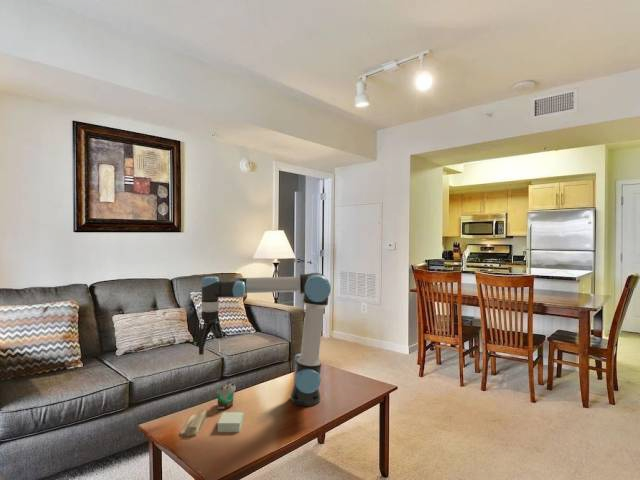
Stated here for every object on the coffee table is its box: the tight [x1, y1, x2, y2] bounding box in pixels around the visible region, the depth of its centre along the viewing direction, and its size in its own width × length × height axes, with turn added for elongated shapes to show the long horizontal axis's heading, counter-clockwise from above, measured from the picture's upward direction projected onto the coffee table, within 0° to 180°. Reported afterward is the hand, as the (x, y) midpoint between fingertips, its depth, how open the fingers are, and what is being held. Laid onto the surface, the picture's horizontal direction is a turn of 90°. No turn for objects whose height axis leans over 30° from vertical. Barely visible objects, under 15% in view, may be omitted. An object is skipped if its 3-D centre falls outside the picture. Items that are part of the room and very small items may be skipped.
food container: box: [216, 380, 237, 411], centre depth 183 cm, size 12×6×10 cm, turn 168°
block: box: [217, 411, 245, 433], centre depth 164 cm, size 9×10×4 cm
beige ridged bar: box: [179, 408, 208, 437], centre depth 164 cm, size 6×16×4 cm, turn 2°
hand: (209, 356), depth 175 cm, fingers open, 13 cm apart
